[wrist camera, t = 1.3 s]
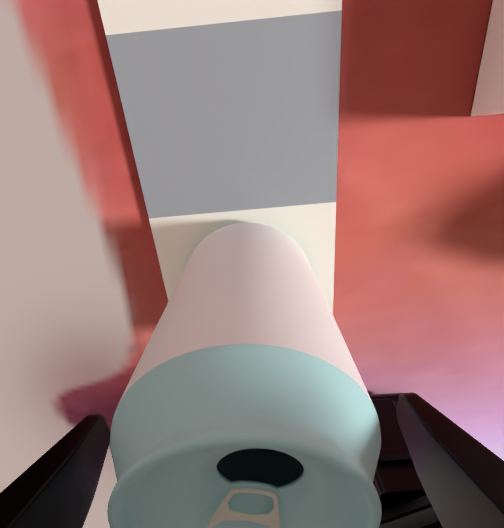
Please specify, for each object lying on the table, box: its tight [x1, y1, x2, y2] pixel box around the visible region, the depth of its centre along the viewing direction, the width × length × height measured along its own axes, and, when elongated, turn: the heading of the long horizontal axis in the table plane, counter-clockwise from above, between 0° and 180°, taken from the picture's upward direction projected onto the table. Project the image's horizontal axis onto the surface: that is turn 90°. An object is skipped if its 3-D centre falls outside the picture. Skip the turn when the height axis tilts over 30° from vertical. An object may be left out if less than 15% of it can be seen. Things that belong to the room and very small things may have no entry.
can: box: [108, 222, 382, 528], centre depth 12 cm, size 7×7×12 cm
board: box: [97, 0, 342, 315], centre depth 12 cm, size 32×10×1 cm, turn 5°
